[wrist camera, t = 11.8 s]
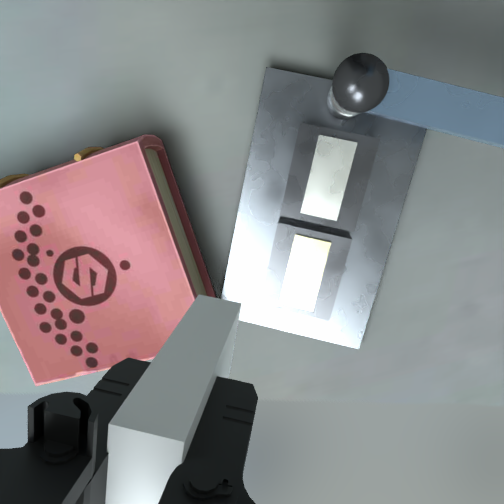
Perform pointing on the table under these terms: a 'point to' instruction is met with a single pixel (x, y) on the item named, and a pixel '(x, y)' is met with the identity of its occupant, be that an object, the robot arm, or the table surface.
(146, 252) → the book
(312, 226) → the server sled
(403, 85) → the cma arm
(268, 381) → the table surface
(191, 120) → the table surface
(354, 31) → the table surface
